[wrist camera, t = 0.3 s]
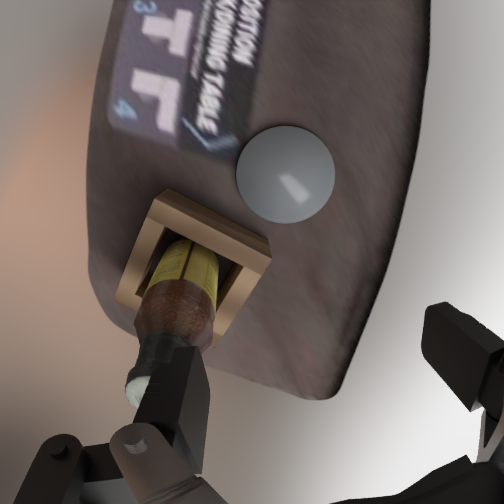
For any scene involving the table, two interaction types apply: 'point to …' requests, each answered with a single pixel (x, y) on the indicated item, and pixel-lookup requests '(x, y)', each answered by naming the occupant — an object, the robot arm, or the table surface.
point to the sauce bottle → (174, 310)
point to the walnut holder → (208, 235)
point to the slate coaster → (285, 174)
